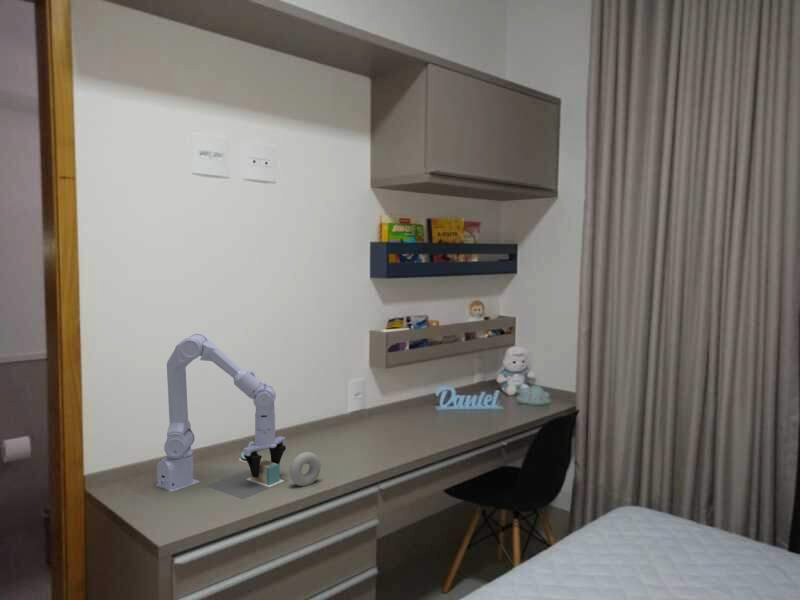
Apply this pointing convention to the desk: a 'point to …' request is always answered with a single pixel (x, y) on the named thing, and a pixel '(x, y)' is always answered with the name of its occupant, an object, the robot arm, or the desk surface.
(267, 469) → the card box
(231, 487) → the mat
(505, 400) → the desk surface
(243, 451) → the pacifier
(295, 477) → the donut
